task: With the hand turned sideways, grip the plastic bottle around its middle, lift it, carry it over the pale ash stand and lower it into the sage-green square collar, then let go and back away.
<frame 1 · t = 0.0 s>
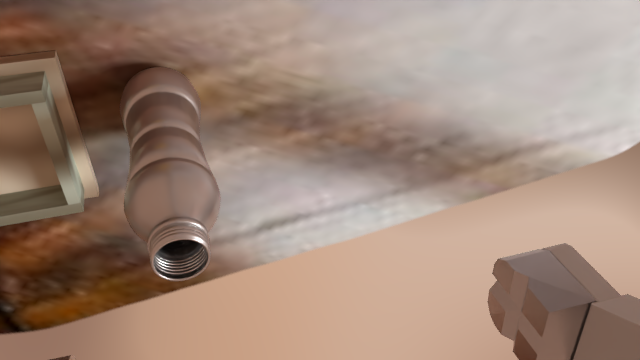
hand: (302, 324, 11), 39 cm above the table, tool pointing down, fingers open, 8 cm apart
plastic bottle: (158, 92, 50), on the table
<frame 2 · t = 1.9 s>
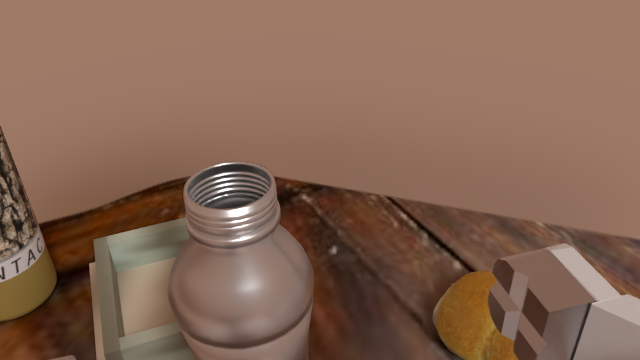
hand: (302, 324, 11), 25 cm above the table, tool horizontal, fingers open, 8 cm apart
bread roll: (495, 337, 42), on the table
bottle stand: (192, 308, 45), on the table
paper tube: (15, 296, 47), on the table
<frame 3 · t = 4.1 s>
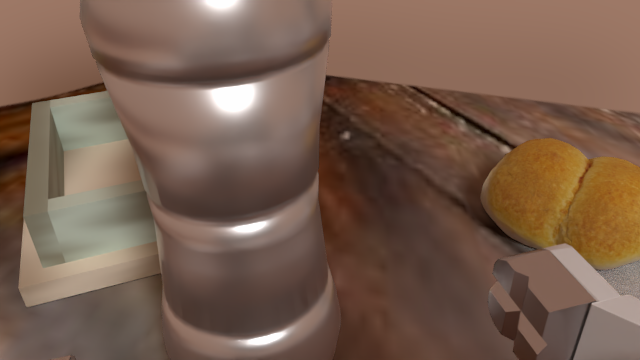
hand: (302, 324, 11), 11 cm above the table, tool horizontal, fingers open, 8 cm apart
bread roll: (564, 223, 32), on the table
bottle stand: (160, 192, 34), on the table
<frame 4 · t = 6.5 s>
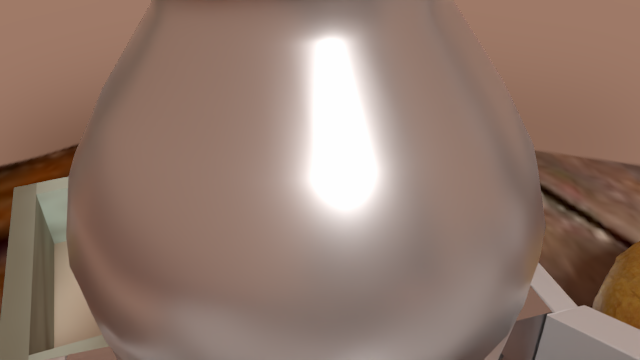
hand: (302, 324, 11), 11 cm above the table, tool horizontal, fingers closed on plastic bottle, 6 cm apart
bottle stand: (176, 301, 27), on the table
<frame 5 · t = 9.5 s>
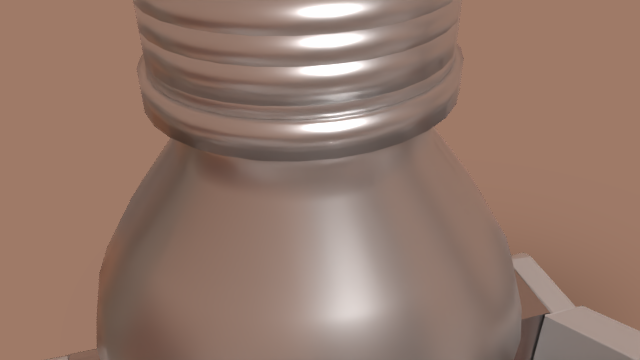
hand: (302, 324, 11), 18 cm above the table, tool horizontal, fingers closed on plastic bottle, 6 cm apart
when the fingers open (14 cm above the table, at t = 11.4 s): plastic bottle stays where it is, resting on bottle stand.
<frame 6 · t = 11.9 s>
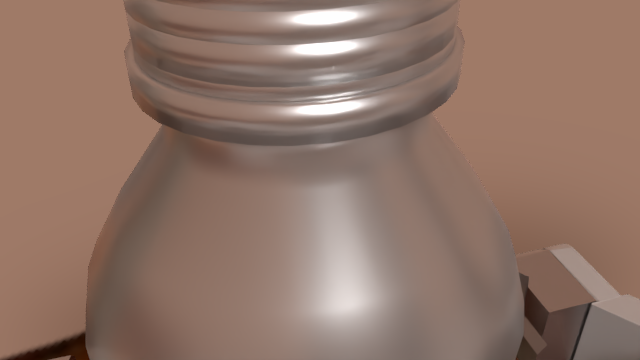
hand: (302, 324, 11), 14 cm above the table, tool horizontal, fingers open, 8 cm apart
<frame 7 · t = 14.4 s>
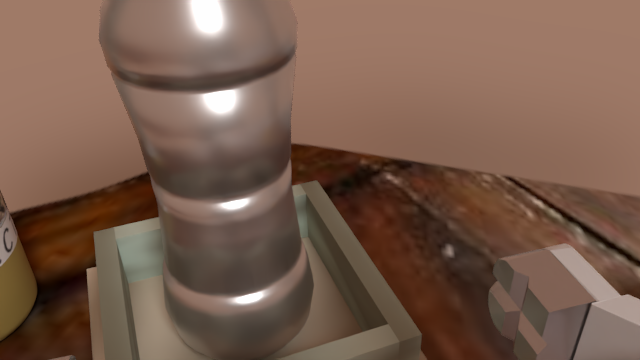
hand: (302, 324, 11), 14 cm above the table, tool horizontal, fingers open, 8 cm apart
bottle stand: (247, 340, 29), on the table
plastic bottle: (245, 329, 28), point 1 cm above the table, touching bottle stand
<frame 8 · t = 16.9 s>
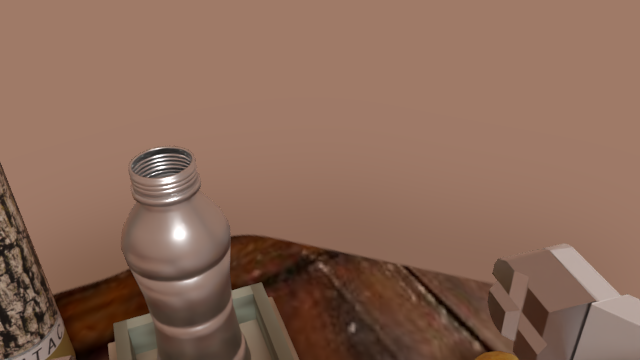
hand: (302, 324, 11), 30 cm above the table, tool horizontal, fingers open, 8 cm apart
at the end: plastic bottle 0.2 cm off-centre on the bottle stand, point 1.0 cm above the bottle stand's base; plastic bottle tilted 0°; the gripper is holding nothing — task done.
